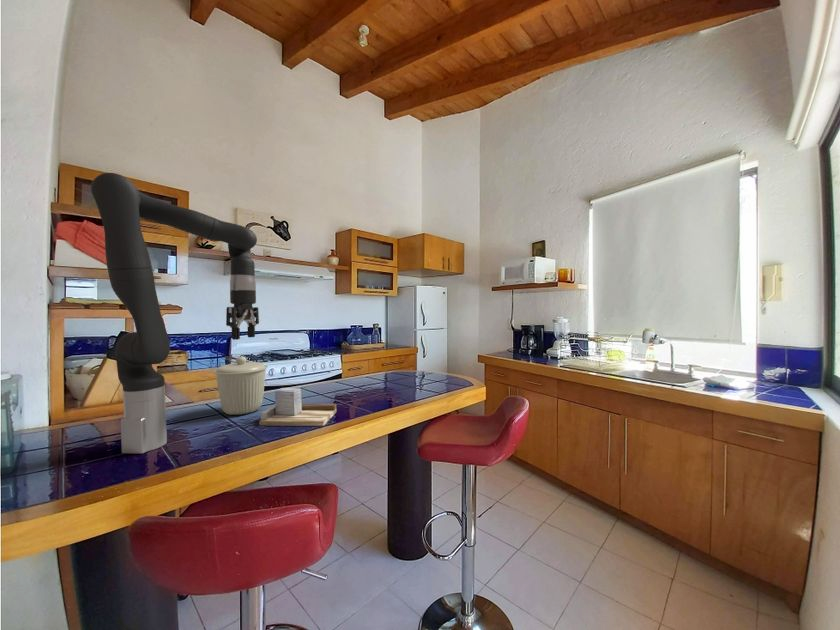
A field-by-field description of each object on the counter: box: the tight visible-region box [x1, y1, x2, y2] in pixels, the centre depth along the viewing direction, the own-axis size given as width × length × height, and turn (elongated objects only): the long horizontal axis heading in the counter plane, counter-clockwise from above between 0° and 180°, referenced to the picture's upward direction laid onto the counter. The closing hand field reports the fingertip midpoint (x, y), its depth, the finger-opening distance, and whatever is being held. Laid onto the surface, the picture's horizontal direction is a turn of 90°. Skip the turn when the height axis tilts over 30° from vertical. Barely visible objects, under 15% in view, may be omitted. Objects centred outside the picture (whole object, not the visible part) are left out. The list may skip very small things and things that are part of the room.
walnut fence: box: [301, 403, 337, 410], centre depth 122 cm, size 2×22×2 cm, turn 87°
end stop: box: [260, 403, 276, 420], centre depth 116 cm, size 10×2×2 cm, turn 177°
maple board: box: [258, 408, 337, 427], centre depth 116 cm, size 14×22×2 cm, turn 87°
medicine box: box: [274, 387, 302, 416], centre depth 117 cm, size 8×4×9 cm, turn 76°
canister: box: [213, 356, 268, 416], centre depth 125 cm, size 18×18×21 cm
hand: (243, 338), depth 108 cm, fingers open, 8 cm apart
